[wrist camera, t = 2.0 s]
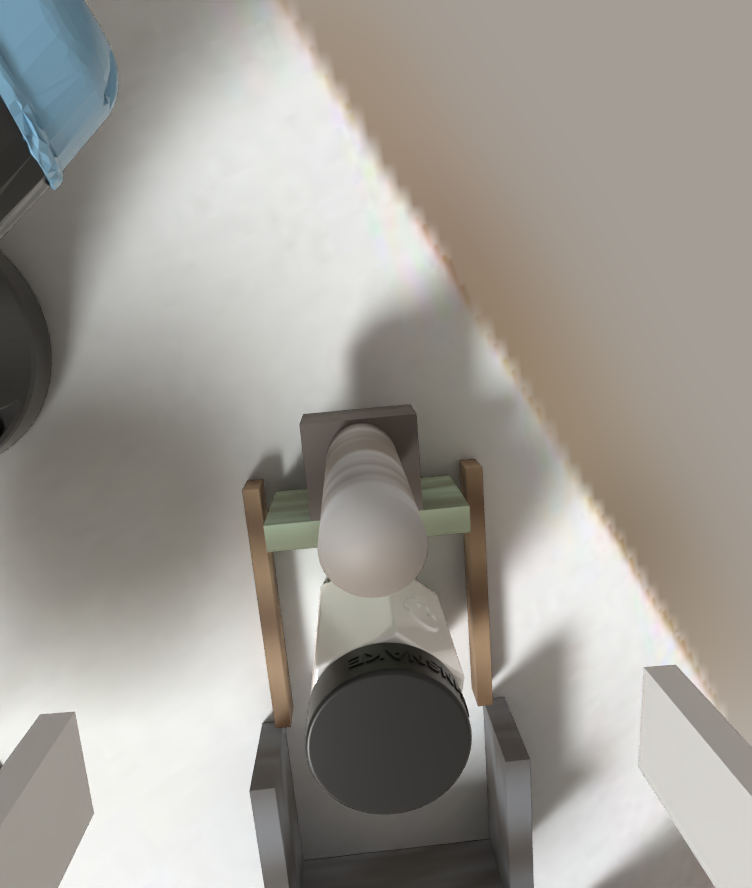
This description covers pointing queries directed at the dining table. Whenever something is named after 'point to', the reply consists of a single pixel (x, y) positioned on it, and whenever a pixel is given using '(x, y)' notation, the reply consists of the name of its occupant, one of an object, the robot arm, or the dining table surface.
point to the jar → (385, 701)
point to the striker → (365, 500)
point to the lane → (507, 763)
